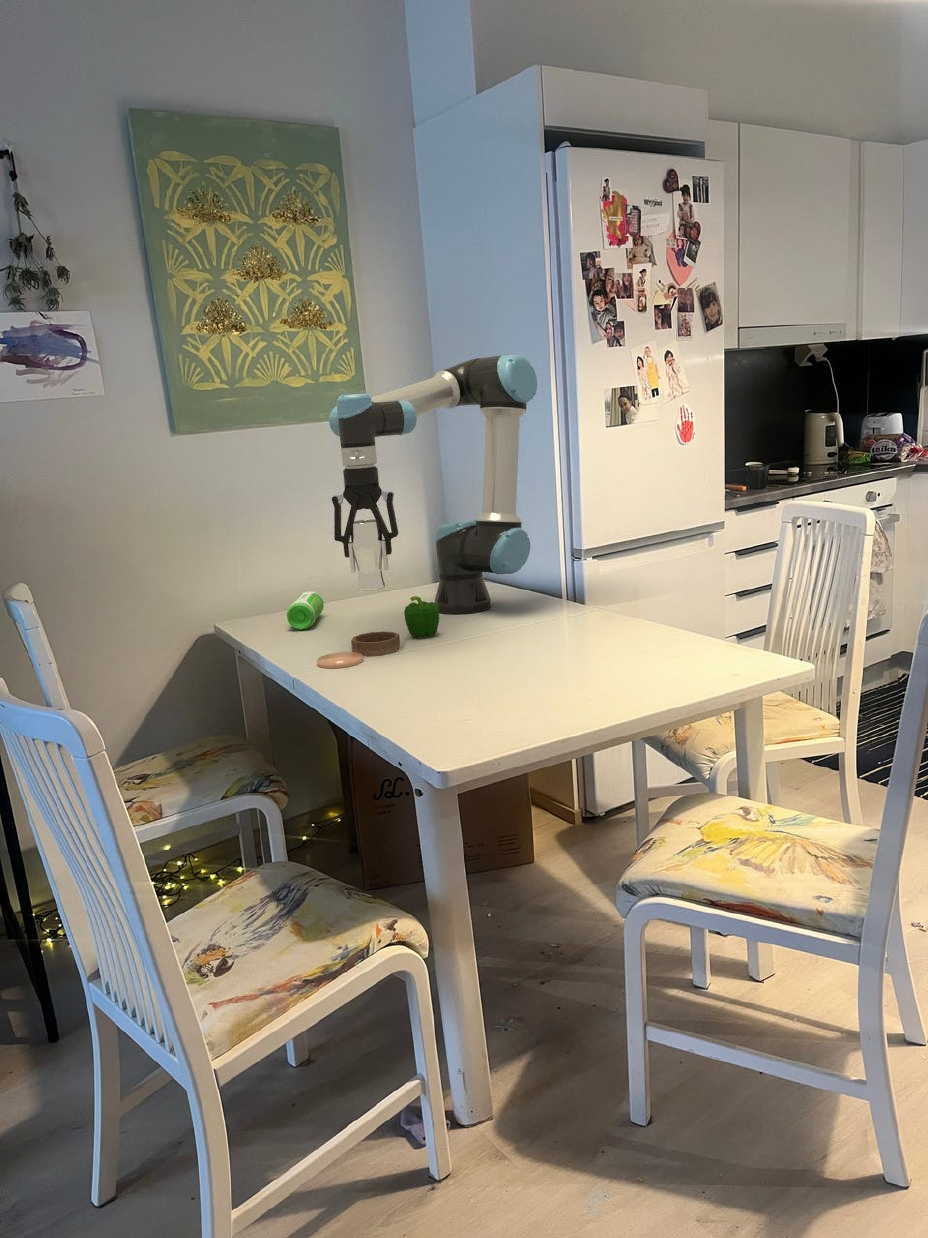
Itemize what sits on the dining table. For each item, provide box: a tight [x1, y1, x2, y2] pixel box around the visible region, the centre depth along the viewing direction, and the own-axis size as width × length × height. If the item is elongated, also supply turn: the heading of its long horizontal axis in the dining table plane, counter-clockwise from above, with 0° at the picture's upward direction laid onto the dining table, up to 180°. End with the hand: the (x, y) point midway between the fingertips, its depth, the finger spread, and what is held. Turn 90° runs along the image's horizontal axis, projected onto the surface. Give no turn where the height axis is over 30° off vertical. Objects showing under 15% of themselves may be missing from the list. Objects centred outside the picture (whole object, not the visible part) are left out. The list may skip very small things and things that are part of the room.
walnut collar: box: [350, 631, 401, 657], centre depth 217 cm, size 11×11×3 cm
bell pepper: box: [404, 595, 440, 639], centre depth 227 cm, size 8×8×10 cm
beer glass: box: [350, 518, 386, 591], centre depth 213 cm, size 7×7×15 cm
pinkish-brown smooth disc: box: [316, 651, 364, 670], centre depth 209 cm, size 10×10×1 cm
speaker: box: [286, 590, 325, 631], centre depth 250 cm, size 18×7×8 cm, turn 0°
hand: (369, 570), depth 214 cm, fingers closed on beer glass, 7 cm apart
